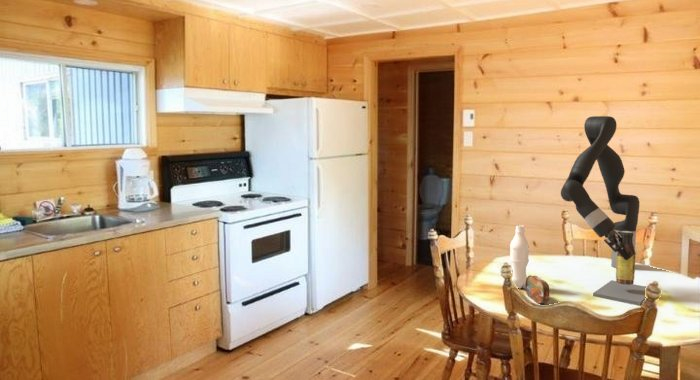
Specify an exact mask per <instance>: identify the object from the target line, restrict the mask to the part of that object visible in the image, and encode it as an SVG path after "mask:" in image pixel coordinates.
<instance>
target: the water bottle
mask: <svg viewBox="0 0 700 380" xmlns="http://www.w3.org/2000/svg"><path fill="white" fill-rule="evenodd" d="M525 232H526V231H525V226H524V225H520V224H519V225H516V226H515V235H514V236H513V239H511V242H510V245H509V246H510V247H509V248H510V249H509V252H510V253H509V255H510V257H509V261H510V264H511V270H512V269H513V277H512V280H513V282H514V283H515V284H516V286H517V287H518V288H519V289H518V290H520V289H526V286H525V285H526V279H527V277H528V276H527V267H528V265H529V261H530V260H529V251H530V250H529V248H530V244H529V242H528V240H527V238H526V236H525Z"/></svg>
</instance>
